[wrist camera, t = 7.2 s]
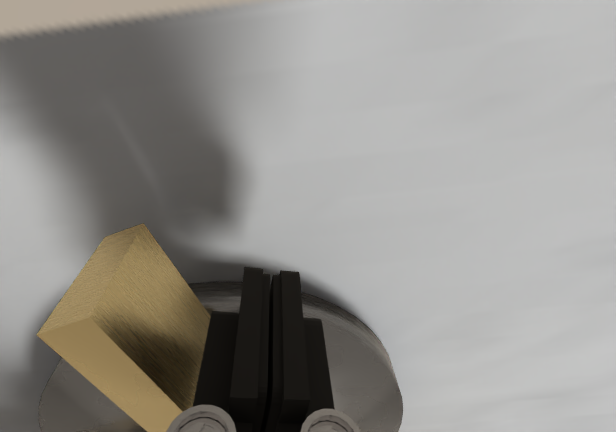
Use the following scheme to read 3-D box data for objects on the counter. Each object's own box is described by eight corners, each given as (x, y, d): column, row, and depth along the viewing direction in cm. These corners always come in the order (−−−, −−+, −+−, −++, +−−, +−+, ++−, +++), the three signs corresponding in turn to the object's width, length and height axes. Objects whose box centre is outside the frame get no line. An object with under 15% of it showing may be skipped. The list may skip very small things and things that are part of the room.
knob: (296, 379, 15) (303, 519, 11) (214, 402, 15) (193, 546, 11) (186, 201, 10) (130, 332, 6) (74, 242, 11) (-45, 388, 7)
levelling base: (460, 371, 18) (484, 421, 16) (273, 502, 24) (273, 551, 22) (157, 210, 12) (133, 256, 10) (8, 437, 18) (-27, 496, 16)
